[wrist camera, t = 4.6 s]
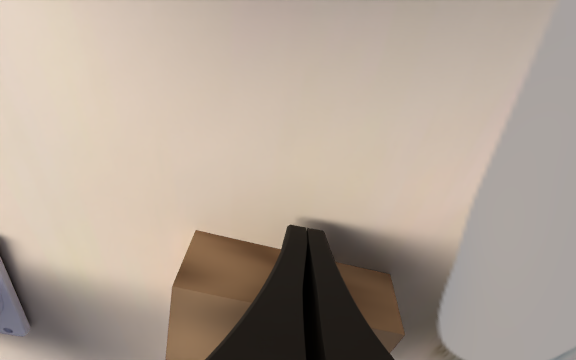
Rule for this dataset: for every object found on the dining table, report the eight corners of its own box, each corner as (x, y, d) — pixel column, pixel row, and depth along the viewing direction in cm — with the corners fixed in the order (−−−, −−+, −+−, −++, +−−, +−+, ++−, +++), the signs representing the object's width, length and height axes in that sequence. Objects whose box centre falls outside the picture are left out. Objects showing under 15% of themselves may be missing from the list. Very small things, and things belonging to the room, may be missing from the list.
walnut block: (185, 309, 18) (165, 366, 15) (196, 229, 15) (172, 286, 12) (344, 341, 19) (350, 400, 16) (390, 273, 15) (404, 335, 13)
